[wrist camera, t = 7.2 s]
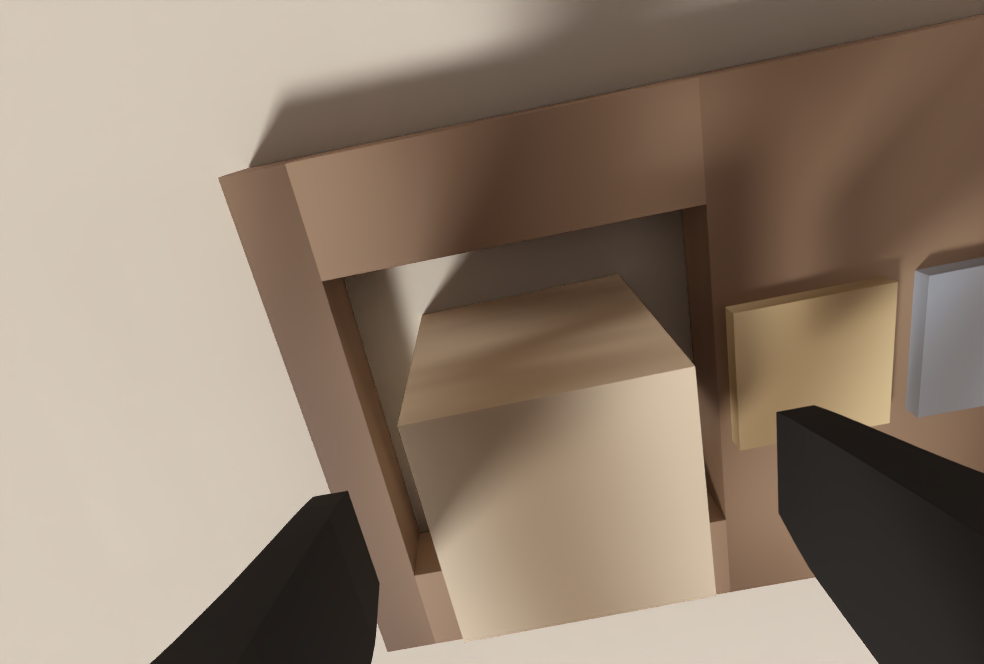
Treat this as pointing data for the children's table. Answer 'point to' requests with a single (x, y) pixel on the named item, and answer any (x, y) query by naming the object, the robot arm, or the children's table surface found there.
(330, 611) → the robot arm
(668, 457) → the maple block
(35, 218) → the children's table surface
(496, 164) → the puzzle board
